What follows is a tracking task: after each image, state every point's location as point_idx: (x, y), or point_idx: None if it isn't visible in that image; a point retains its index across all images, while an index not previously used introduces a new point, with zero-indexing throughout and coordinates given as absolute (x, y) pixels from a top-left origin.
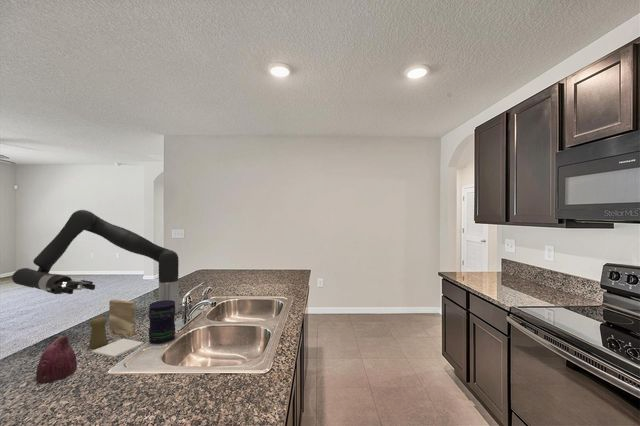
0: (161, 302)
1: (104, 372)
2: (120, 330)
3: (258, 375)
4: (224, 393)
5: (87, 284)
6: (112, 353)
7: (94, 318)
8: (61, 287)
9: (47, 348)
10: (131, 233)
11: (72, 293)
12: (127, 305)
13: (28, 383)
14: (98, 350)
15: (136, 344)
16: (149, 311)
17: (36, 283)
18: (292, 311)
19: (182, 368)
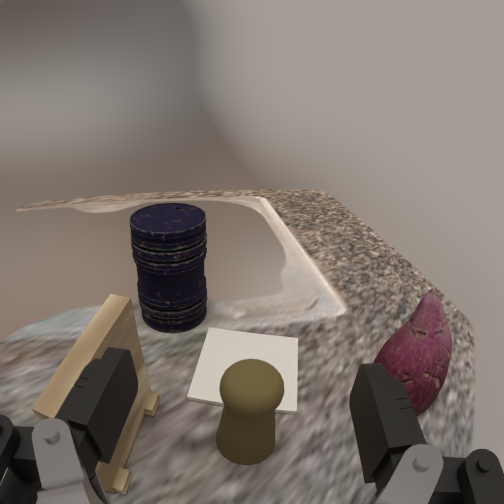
0: (152, 222)
1: (349, 315)
2: (131, 431)
3: (272, 199)
4: (313, 209)
5: (92, 426)
6: (289, 351)
7: (258, 391)
8: (441, 463)
9: (449, 330)
10: None
11: (353, 396)
12: (123, 321)
13: (446, 393)
14: (286, 397)
15: (224, 335)
16: (187, 249)
17: None
18: (56, 203)
19: (286, 243)
